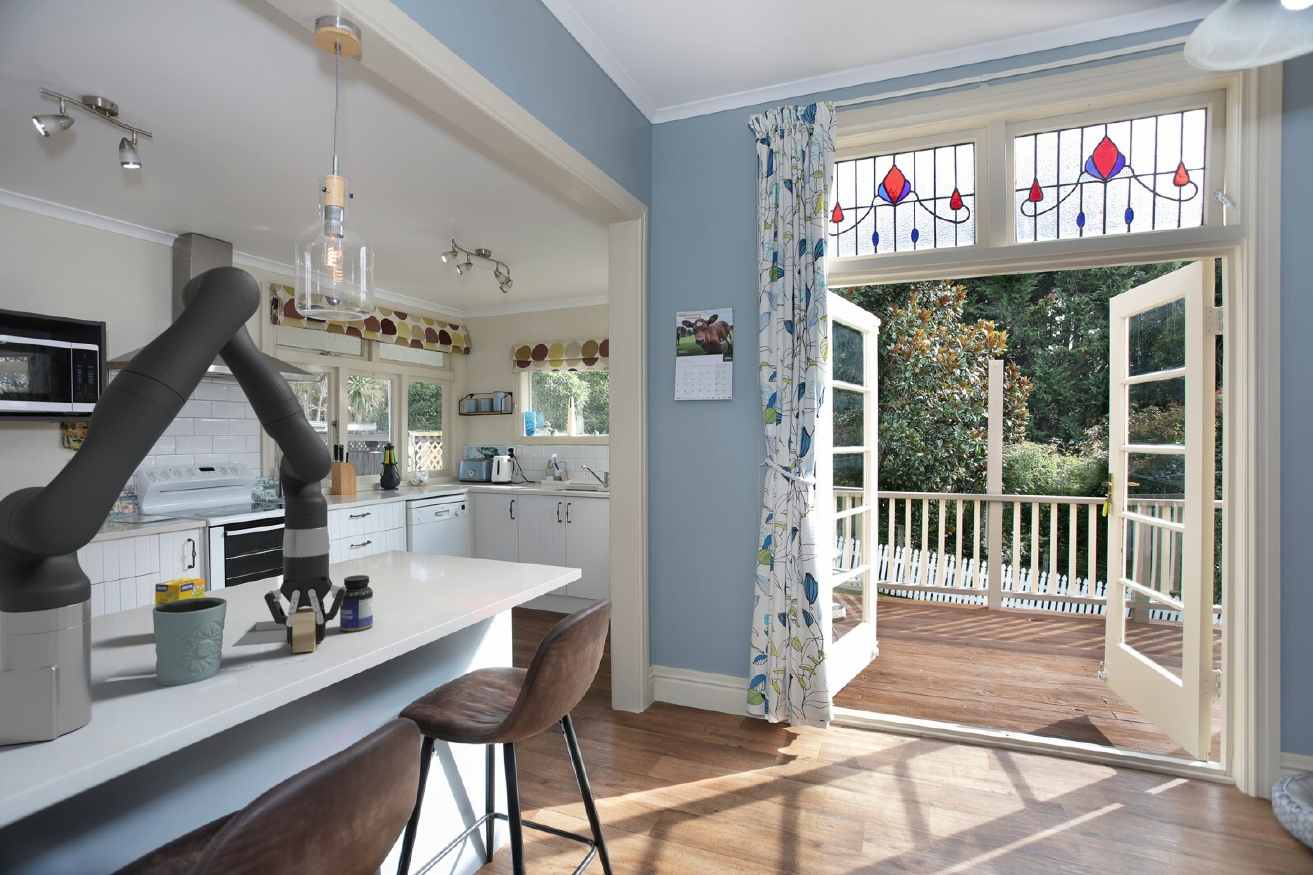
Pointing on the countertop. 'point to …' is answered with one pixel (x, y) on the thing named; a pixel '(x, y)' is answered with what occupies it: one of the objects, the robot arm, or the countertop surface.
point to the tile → (269, 622)
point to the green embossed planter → (188, 639)
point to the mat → (262, 637)
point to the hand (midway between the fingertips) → (306, 643)
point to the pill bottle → (356, 605)
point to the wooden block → (304, 630)
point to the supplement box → (179, 590)
